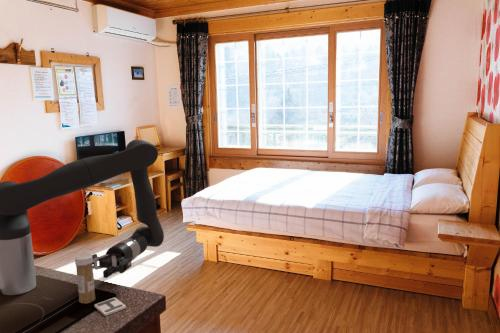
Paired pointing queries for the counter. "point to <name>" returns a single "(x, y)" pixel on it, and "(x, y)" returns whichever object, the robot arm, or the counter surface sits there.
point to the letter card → (110, 306)
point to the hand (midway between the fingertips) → (91, 273)
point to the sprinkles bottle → (85, 278)
